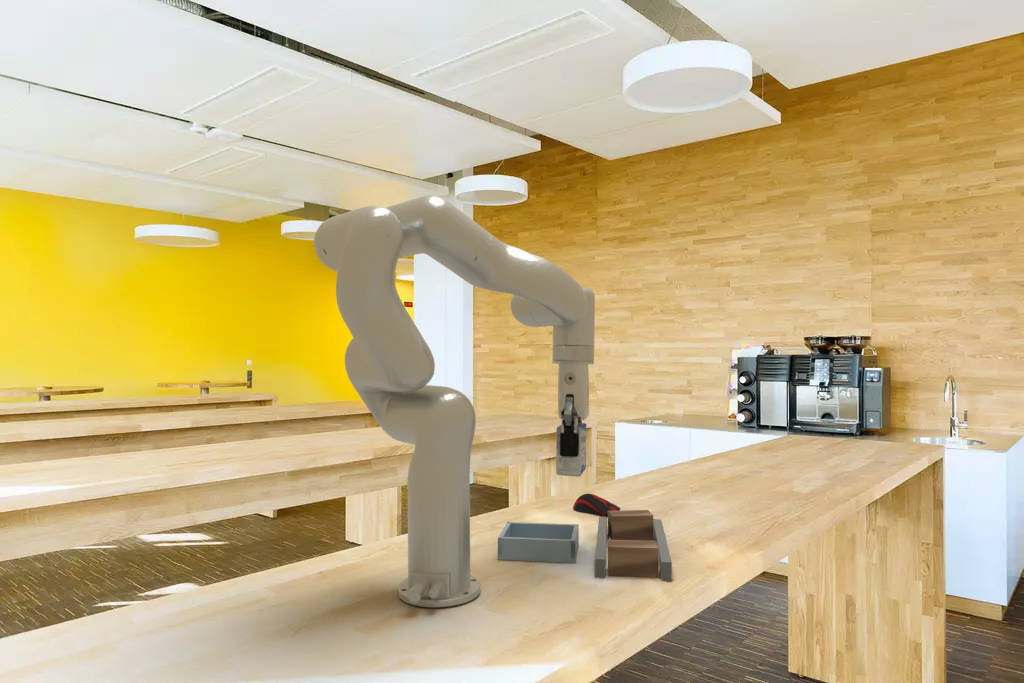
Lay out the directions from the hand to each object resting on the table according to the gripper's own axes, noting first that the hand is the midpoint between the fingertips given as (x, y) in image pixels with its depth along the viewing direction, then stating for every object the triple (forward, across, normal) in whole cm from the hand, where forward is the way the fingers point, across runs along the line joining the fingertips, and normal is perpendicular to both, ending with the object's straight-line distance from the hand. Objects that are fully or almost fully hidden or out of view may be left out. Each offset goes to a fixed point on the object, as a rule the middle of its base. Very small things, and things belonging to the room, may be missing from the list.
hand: (571, 452), depth 124 cm
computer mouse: (+18, +31, -3) cm, 36 cm away
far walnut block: (+18, +12, -11) cm, 24 cm away
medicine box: (+4, 0, 0) cm, 4 cm away
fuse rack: (+18, +2, -11) cm, 21 cm away
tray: (+18, 0, +6) cm, 19 cm away
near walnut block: (+19, -8, -11) cm, 23 cm away
